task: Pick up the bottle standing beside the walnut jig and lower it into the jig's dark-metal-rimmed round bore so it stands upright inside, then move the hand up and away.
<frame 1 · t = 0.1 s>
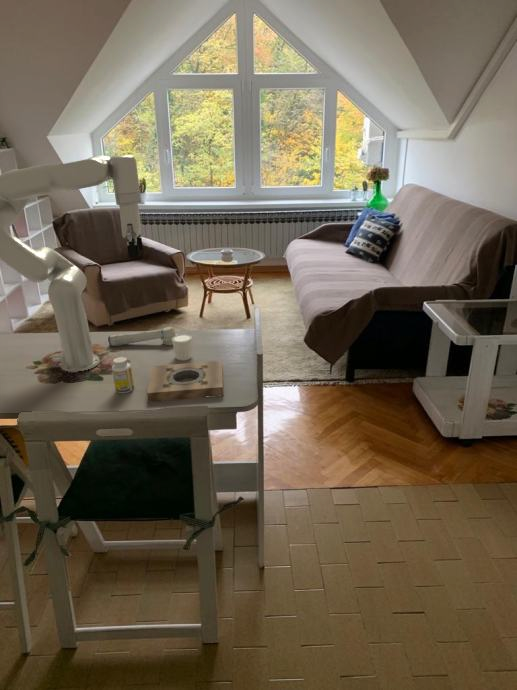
hand: (136, 254, 172), 37 cm above the table, tool pointing down, fingers open, 9 cm apart
beige cylinder: (184, 357, 188), on the table
jig: (187, 384, 169), on the table
supplement bottle: (125, 390, 168), on the table
grey elongated piece: (144, 345, 200), on the table
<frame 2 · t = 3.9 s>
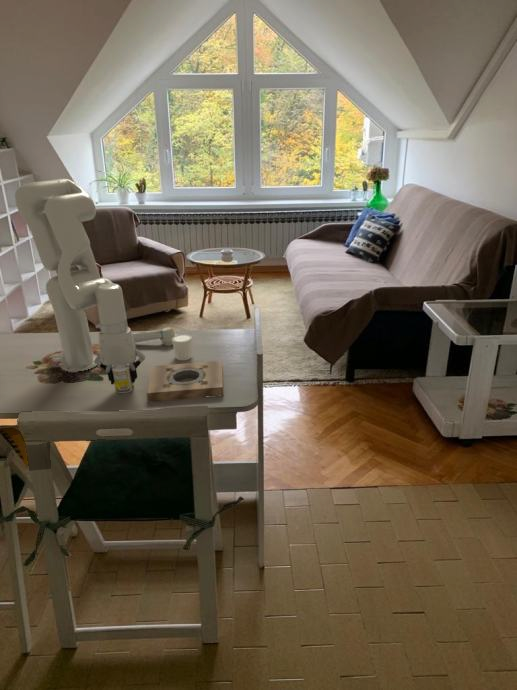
hand: (123, 380, 167), 3 cm above the table, tool pointing down, fingers closed on supplement bottle, 5 cm apart
supplement bottle: (125, 390, 168), on the table, touching gripper
everything else where it was.
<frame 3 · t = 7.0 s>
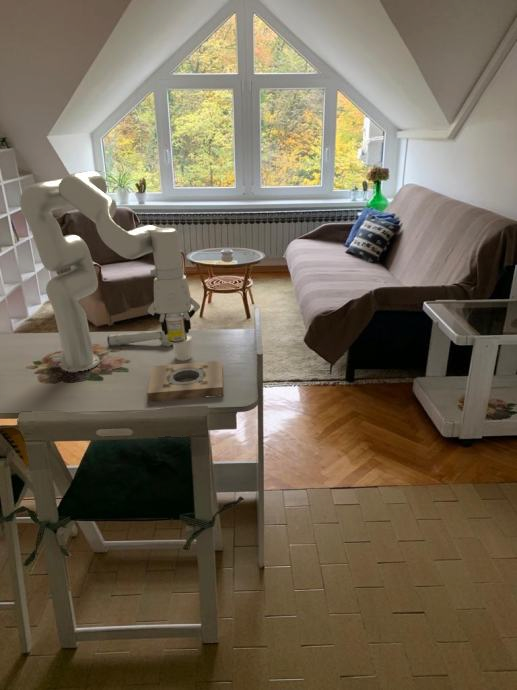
hand: (176, 331, 162), 18 cm above the table, tool pointing down, fingers closed on supplement bottle, 5 cm apart
supplement bottle: (178, 341, 163), point 15 cm above the table, touching gripper
everything else where it was.
when the fingers open (4 cm above the table, at t = 9.9 s): supplement bottle drops 1 cm, resting in jig.
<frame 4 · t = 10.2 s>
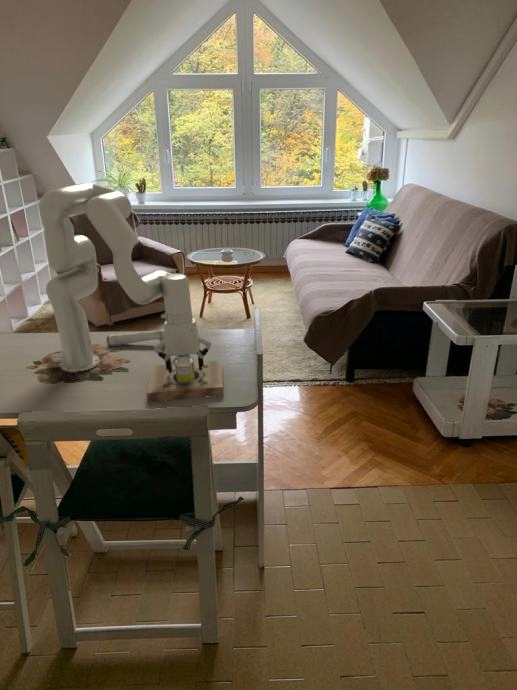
hand: (185, 369, 167), 5 cm above the table, tool pointing down, fingers open, 8 cm apart
supplement bottle: (186, 385, 169), resting in jig
everything else where it was.
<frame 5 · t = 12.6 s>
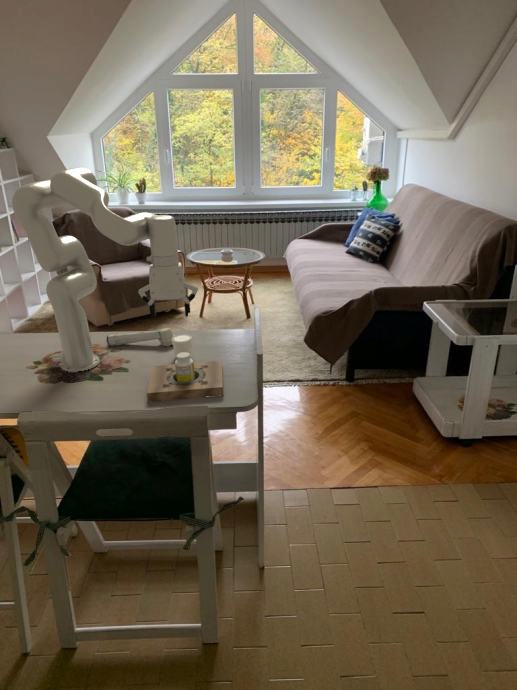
hand: (170, 315, 164), 21 cm above the table, tool pointing down, fingers open, 9 cm apart
nothing on the table moved.
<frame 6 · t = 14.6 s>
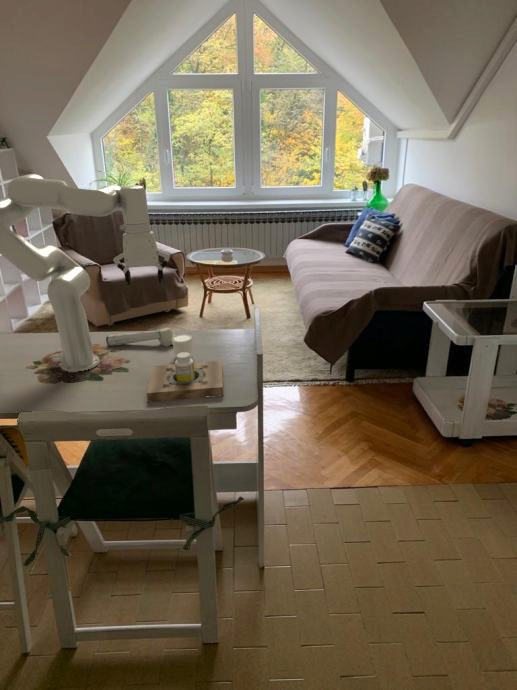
hand: (145, 282, 172), 28 cm above the table, tool pointing down, fingers open, 9 cm apart
nothing on the table moved.
at the end: supplement bottle 0.2 cm off-centre on the jig, point 0.0 cm above the jig's base; supplement bottle tilted 0°; the gripper is holding nothing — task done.
